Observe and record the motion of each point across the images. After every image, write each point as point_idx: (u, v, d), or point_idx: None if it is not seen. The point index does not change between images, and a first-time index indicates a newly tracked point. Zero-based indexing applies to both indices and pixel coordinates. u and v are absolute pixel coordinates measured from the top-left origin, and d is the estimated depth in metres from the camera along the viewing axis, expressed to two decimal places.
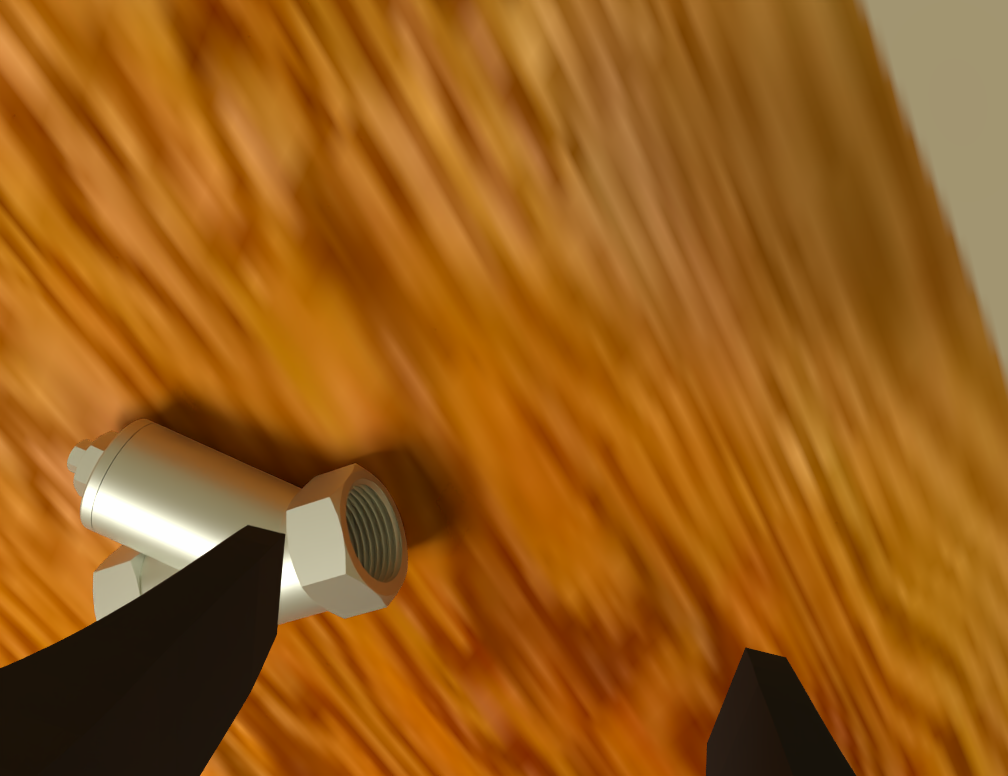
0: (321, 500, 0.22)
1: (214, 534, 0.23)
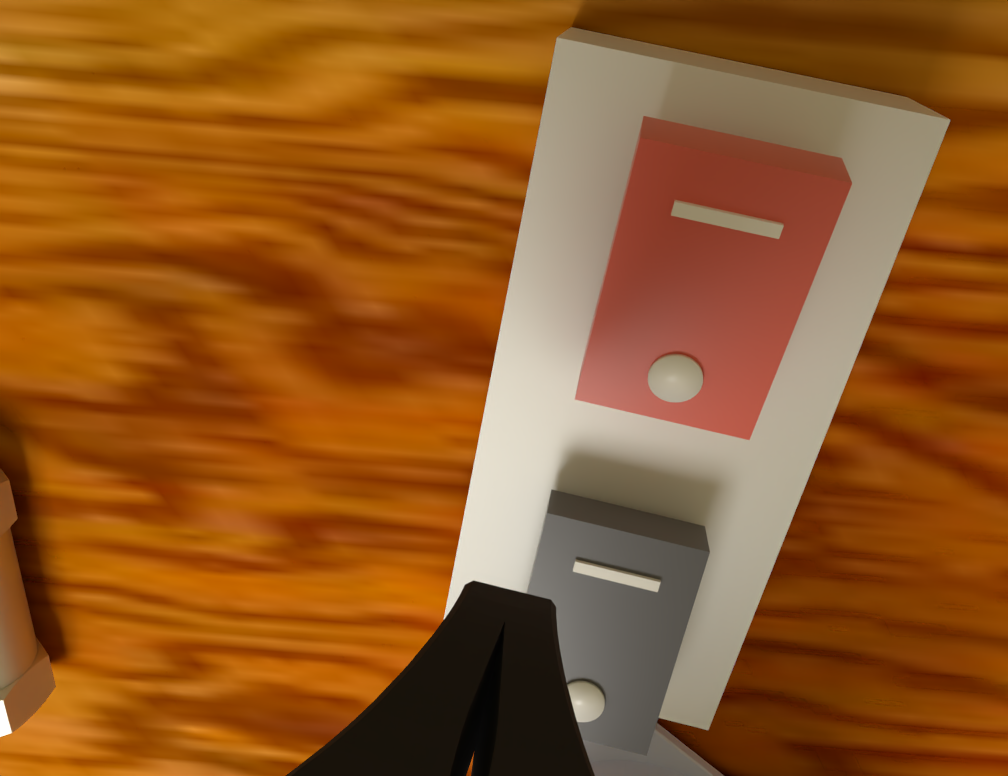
0: None
1: None
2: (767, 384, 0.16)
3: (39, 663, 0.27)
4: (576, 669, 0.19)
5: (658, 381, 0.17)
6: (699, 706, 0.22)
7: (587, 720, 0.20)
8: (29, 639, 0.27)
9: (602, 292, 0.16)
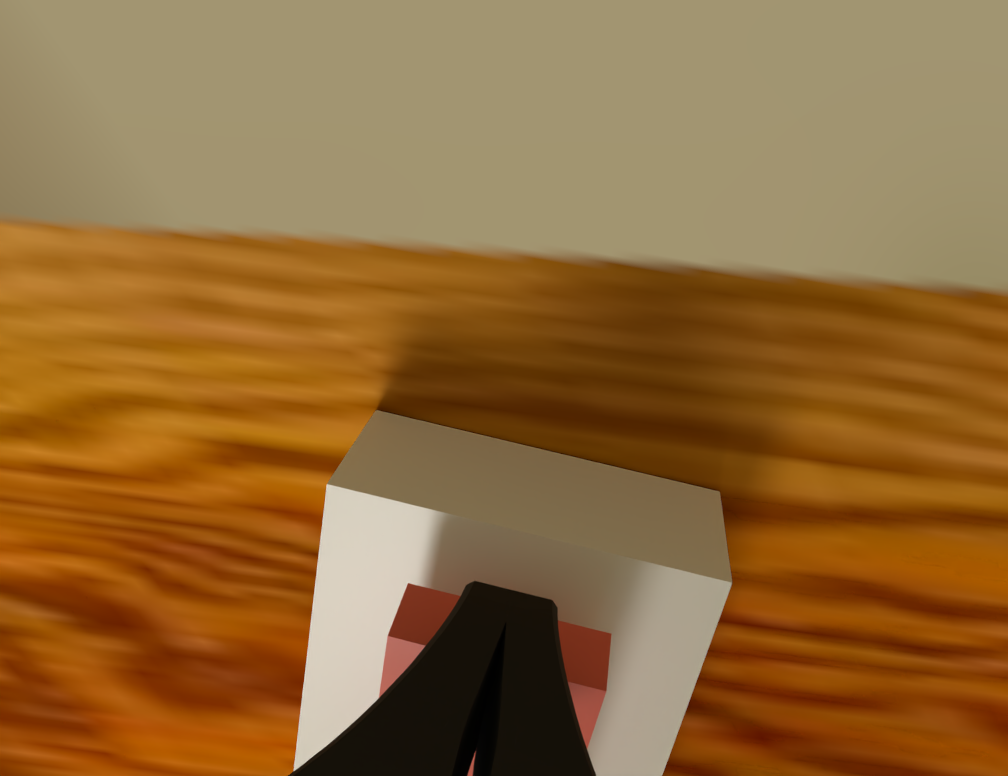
0: None
1: None
2: None
3: None
4: None
5: None
6: None
7: None
8: None
9: None
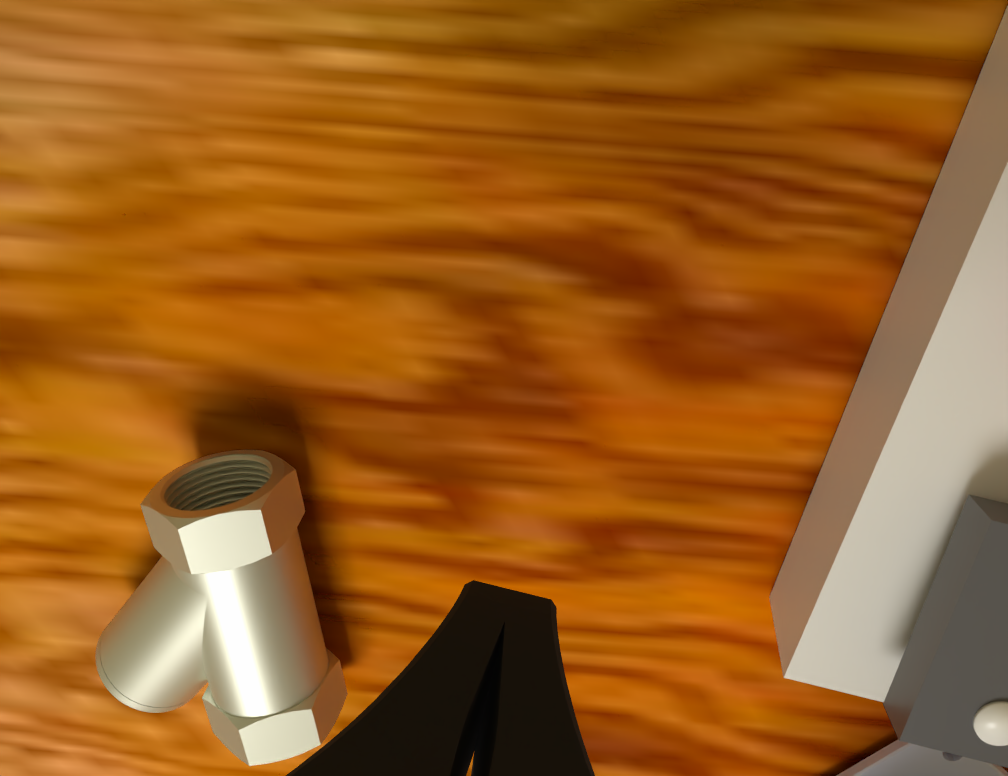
0: (143, 513, 0.23)
1: (156, 617, 0.23)
2: None
3: (333, 668, 0.26)
4: (998, 689, 0.18)
5: None
6: None
7: (1002, 743, 0.18)
8: (322, 643, 0.25)
9: None
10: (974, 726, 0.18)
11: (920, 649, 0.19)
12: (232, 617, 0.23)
